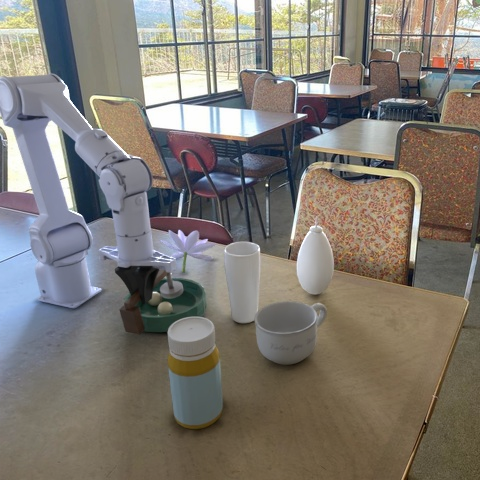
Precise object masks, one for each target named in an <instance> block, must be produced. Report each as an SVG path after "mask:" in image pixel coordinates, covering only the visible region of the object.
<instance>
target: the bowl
mask: <svg viewBox="0 0 480 480" xmlns="http://www.w3.org/2000/svg"><path fill="white" fill-rule="evenodd" d="M172 281H178V282H181V283H182V285H183V293H182V294H181V295H180V296H178V297H176V298H171V299H167V298H163V297H162V301H161V303H162V302H169V303H170V304H171V305H172V307H173V310H172V313H171V314H170V315H163V316H162V315H160V314H159V313H158V306H159V305H157V306H152V305H150V304H149V303H148V302H147V303H145V304H144V303H142V302H141V300H140V301H139V302H138V303H137V304H136V305H135V306H137V307H139V308H140V312H141V316H142V319H143V323H144V327H145V329H144V330H143V332H148V333H167V332H168V329H169V327H170V326H171V325H172V324H173V323H174V322H176V321H178V320H180V319H183V318H186V317H203V316H204V315H205V314H206V311H207V308H208V304H207V293H206V290H205V287H204V286H203V285H201V283H200V282H197V281H195V280H193V279H189V278H184V277H172ZM165 283H167V278H166V277H164V278H163V279H162V280H161V281H160V282H159V283H158V284H157V285H156V286H155V287H154V288H153V292H158V293H160V287H161V286H162V285H163V284H165ZM160 294H161V293H160ZM130 297H131V294H130V292H129V291H128V293H127V294H126V296H125V297H124V298H123V299H124V300H123V304H124V303H125V302H126V301H127V300H128V299H129V298H130Z"/></svg>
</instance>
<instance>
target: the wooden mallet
mask: <svg viewBox="0 0 480 480" xmlns="http://www.w3.org/2000/svg"><path fill="white" fill-rule="evenodd" d="M165 278H167V283H165V284H163V285H162V286H161V287H160V293H161V296H162V297H163V298H167V299H171V298H176V297H178V296H180V295H181V294H182V293H183V285H182V283H181V282H178V281H172V278H173V277H172V272H171V273H169V272H166V270H163V269H160V270H159V272H158V274H157V277H156V280H155V283H154V287H155V286H156V285H157V284H158V283H159V282H160V281H161V280H162V279H165ZM154 287H153V288H154ZM140 300H141V298H140V294H139V290H137V291H136V292H135V293H134V294H133V295H132V296H131V297H130V298H129V299H128V300H127V301H126V302H125V303H124V302H123V305H122V306H121V307H120V308H119V309H118V310H119V313H120V318H121V321H122V324H123V327H124V331H125V332H126V333H131V334H136V335H141V334H142V333H143V332H144V331H143V330H144V329H145V327H144V323H143V319H142V316H141V312H140V308H139V307H137V306H135V305H136V304H137V303H138V302H139V301H140Z"/></svg>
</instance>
